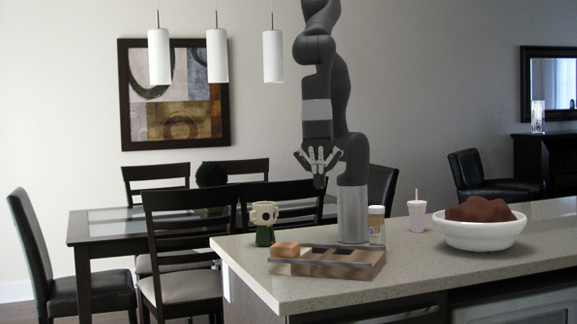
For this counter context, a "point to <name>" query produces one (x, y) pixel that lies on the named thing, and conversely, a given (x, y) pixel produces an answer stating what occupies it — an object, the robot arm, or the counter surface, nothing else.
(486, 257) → the counter surface
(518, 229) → the chocolate pudding bowl
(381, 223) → the sprinkles bottle
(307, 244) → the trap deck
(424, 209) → the smoothie
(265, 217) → the character mug
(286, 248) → the terracotta block
